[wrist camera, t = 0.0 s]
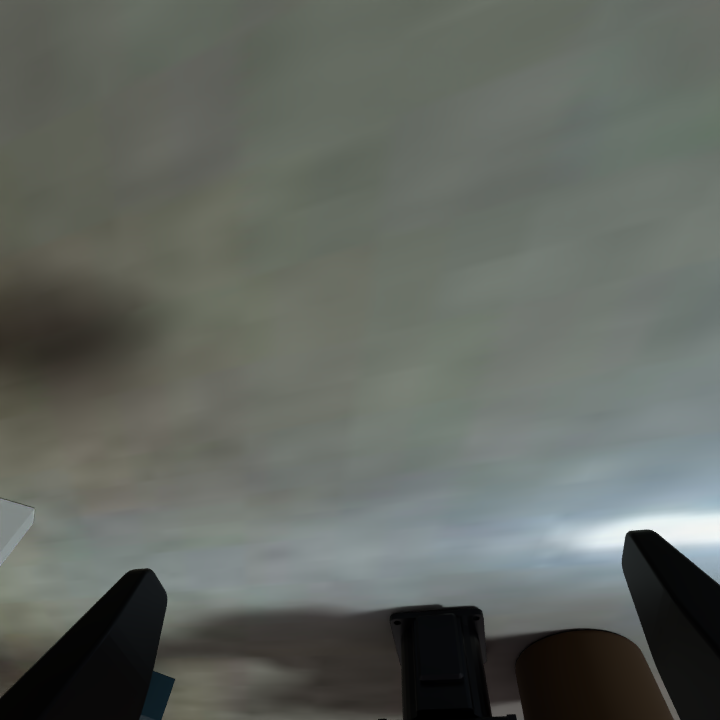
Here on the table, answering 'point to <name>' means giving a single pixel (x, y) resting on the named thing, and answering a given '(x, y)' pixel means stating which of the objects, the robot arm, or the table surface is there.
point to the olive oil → (588, 679)
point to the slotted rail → (13, 525)
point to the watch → (157, 697)
